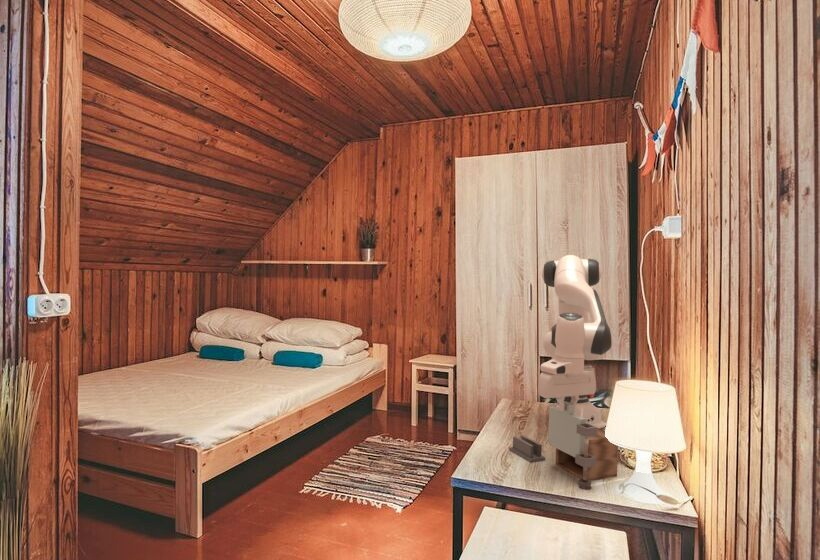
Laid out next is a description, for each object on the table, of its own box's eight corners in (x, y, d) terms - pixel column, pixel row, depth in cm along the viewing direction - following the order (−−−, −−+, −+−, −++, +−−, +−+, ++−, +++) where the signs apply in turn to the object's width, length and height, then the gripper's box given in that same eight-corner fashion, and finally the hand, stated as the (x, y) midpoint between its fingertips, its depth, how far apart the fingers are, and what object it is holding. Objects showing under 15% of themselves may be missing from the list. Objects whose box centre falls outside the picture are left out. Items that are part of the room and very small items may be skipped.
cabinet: (583, 461, 165) (585, 416, 164) (625, 482, 149) (627, 433, 148) (545, 467, 158) (547, 421, 158) (584, 490, 142) (586, 438, 142)
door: (555, 445, 159) (557, 397, 159) (595, 466, 143) (597, 411, 143) (545, 447, 158) (547, 397, 158) (585, 467, 142) (587, 413, 142)
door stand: (522, 449, 174) (523, 433, 174) (545, 461, 163) (545, 445, 163) (508, 451, 171) (509, 435, 171) (530, 464, 160) (531, 447, 160)
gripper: (587, 362, 159) (585, 404, 159) (536, 365, 151) (534, 409, 151) (601, 366, 153) (600, 410, 153) (549, 369, 145) (547, 415, 145)
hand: (567, 410), depth 152 cm, fingers closed on door, 2 cm apart
